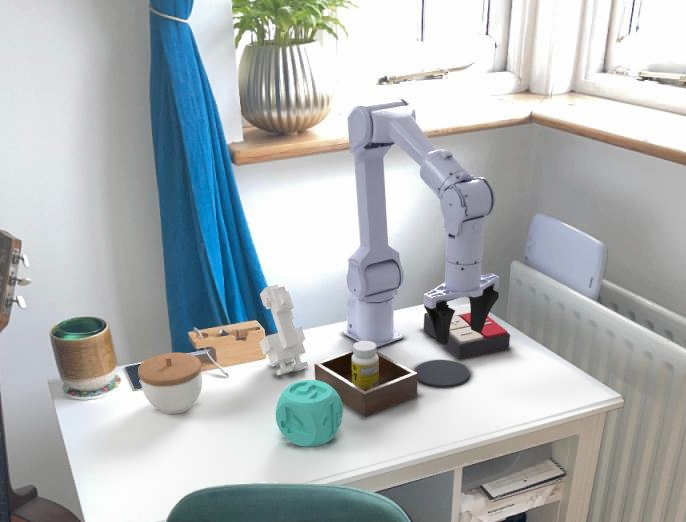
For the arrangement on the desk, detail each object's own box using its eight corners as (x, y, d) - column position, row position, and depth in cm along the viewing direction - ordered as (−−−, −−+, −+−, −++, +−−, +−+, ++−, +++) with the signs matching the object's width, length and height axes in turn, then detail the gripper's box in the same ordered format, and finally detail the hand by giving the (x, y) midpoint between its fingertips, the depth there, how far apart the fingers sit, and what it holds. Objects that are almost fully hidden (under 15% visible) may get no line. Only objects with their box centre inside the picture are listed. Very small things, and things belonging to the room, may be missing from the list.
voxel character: (287, 366, 140) (261, 284, 140) (268, 380, 151) (244, 305, 151) (323, 356, 142) (297, 276, 142) (302, 371, 153) (278, 297, 153)
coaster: (402, 372, 147) (402, 370, 147) (443, 356, 152) (443, 354, 151) (439, 392, 140) (439, 390, 140) (481, 375, 145) (481, 373, 144)
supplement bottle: (350, 383, 144) (349, 340, 139) (376, 381, 144) (376, 338, 139) (353, 396, 140) (352, 352, 135) (380, 393, 140) (380, 350, 135)
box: (315, 385, 144) (314, 363, 142) (365, 366, 150) (365, 345, 147) (364, 417, 134) (364, 394, 132) (417, 395, 140) (417, 373, 137)
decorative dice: (318, 452, 126) (316, 408, 121) (276, 439, 130) (272, 396, 125) (344, 428, 131) (342, 385, 127) (303, 417, 135) (300, 375, 131)
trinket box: (217, 396, 142) (211, 348, 137) (184, 425, 134) (176, 376, 129) (167, 386, 146) (159, 339, 141) (132, 414, 138) (123, 365, 133)
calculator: (460, 342, 148) (423, 309, 159) (458, 362, 151) (422, 329, 162) (511, 331, 151) (472, 299, 162) (509, 351, 154) (470, 319, 165)
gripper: (445, 276, 122) (441, 357, 129) (515, 255, 128) (507, 333, 135) (416, 263, 127) (414, 342, 134) (484, 244, 133) (479, 320, 140)
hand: (459, 336), depth 135 cm, fingers open, 7 cm apart
